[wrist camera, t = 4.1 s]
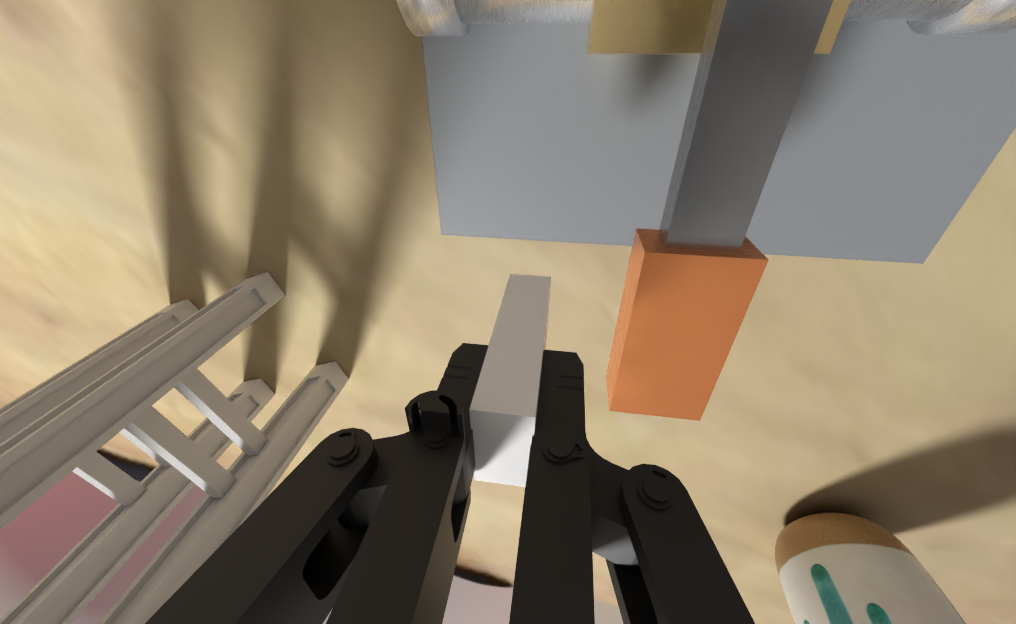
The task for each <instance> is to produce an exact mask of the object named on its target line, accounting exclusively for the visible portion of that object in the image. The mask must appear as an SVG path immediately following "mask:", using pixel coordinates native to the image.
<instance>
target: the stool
mask: <svg viewBox="0 0 1016 624" xmlns="http://www.w3.org/2000/svg"><path fill="white" fill-rule="evenodd" d="M284 296H285V294H284V293H283V292H282V290H281V289H280V288H279V286H278V285H277V284H276V282H275V281H274V280H273V278H272V277H271V276H270V274H269V273H268V272H265V273H262V274H259V275H256V276H253V277H250V278H247V279H245V280H244V281H242V282H241V283H239V284H238V285H236V286H235V287H233V288H232V289H230V290H229V291H227V292H226V293H224V294H223V295H221V296H220V297H218V298H217V299H215V300H214V301H212V302H211V303H209V304H208V305H206V306H205V307H203V308H202V309H200V310H198V309H197V308H196V307H195V306H194V305H193V304H192V302H191V301H190V300H189V299H186V300H183V301H180V302H177V303H174V304H171V305H169V306H167V307H166V308H164V309H162V310H161V311H159V312H157V313H156V314H154V315H152V316H151V317H149V318H147V319H146V320H144V321H143V322H141V323H139V324H138V325H136V326H134V327H133V328H131V329H129V330H128V331H126V332H125V333H123V334H121V335H120V336H118V337H116V338H115V339H113V340H111V341H110V342H108V343H106V344H105V345H103V346H102V347H100V348H98V349H97V350H95V351H93V352H92V353H90V354H88V355H87V356H85V357H84V358H82V359H80V360H79V361H77V362H75V363H74V364H72V365H70V366H69V367H67V368H65V369H64V370H62V371H61V372H59V373H57V374H56V375H54V376H52V377H51V378H49V379H47V380H46V381H44V382H43V383H41V384H39V385H38V386H36V387H34V388H33V389H31V390H29V391H28V392H26V393H24V394H23V395H21V396H20V397H18V398H16V399H15V400H13V401H11V402H10V403H8V404H6V405H5V406H3V407H2V408H0V530H1V529H2V528H3V527H4V526H5V525H7V524H8V523H9V522H11V521H12V520H13V519H14V518H15V517H16V516H18V515H19V514H20V513H21V512H23V511H24V510H25V509H26V508H27V507H29V506H30V505H31V504H32V503H34V502H35V501H36V500H37V499H38V498H40V497H41V496H42V495H43V494H45V493H46V492H47V491H48V490H49V489H51V488H52V487H53V486H54V485H56V484H57V483H58V482H59V481H60V480H62V479H63V478H64V477H65V476H66V475H68V474H69V473H70V472H71V471H73V472H74V473H76V474H77V475H79V476H80V477H82V478H83V479H85V480H86V481H88V482H89V483H91V484H92V485H94V486H95V487H97V488H98V489H100V490H101V491H102V492H104V493H105V494H107V495H108V496H110V497H111V498H113V499H114V500H116V501H117V502H119V504H118V505H117V506H116V507H115V508H114V509H113V510H112V511H111V512H110V513H109V514H108V515H107V516H106V517H105V518H104V519H103V520H102V521H101V522H100V523H99V524H97V526H95V527H94V528H93V530H91V531H90V532H89V533H88V534H87V535H86V536H85V537H84V538H83V539H82V540H81V541H80V542H79V543H78V544H77V545H76V546H75V547H74V548H73V549H72V550H71V551H70V552H69V553H68V554H67V555H66V556H65V557H64V558H63V559H62V560H61V561H60V562H59V563H58V564H57V565H56V566H55V567H54V568H53V569H52V570H51V571H49V572H48V573H47V575H45V576H44V577H43V578H42V579H41V580H40V581H39V582H38V583H37V584H36V585H35V586H34V587H33V588H32V589H31V590H30V591H29V592H28V593H27V594H26V595H25V596H24V597H23V598H22V599H21V600H20V601H19V602H18V603H17V604H16V605H15V606H14V607H13V608H12V609H11V610H10V611H9V612H8V613H7V614H6V615H5V616H3V618H1V619H0V624H71V623H72V622H73V621H74V620H75V619H76V617H78V615H79V614H80V613H81V612H82V611H83V610H84V609H85V608H86V607H87V605H88V604H89V603H90V602H91V601H92V600H93V599H94V598H95V596H96V595H97V594H98V593H99V592H100V591H101V589H103V587H104V586H105V585H106V584H107V583H108V582H109V581H110V579H111V578H112V577H113V576H114V575H115V574H116V572H118V571H119V569H120V568H121V567H122V566H123V565H124V564H125V563H126V562H127V560H128V559H129V558H130V557H131V556H132V555H133V554H134V552H135V551H136V550H137V549H138V548H139V547H140V546H141V545H142V544H143V542H144V541H145V540H146V539H147V538H148V537H149V536H150V535H151V533H152V532H153V531H154V530H155V529H156V528H157V527H158V526H159V524H160V523H161V522H162V521H163V520H164V519H165V518H166V516H167V515H168V514H169V513H170V512H171V511H172V510H173V509H174V507H175V506H176V505H177V504H178V503H179V502H180V501H181V500H182V498H183V497H184V496H185V495H186V494H187V493H188V492H189V491H190V489H191V488H192V487H193V486H194V485H195V484H196V485H197V486H199V487H200V488H201V489H202V490H204V491H205V492H206V493H208V494H207V495H206V496H205V497H204V498H203V500H202V501H201V502H200V503H199V504H198V506H197V507H196V508H195V509H194V510H193V512H192V513H191V514H190V515H189V516H188V518H187V519H186V520H185V521H184V522H183V523H182V525H181V526H180V527H179V528H178V529H177V531H176V532H175V533H174V534H173V535H172V537H171V538H170V539H169V540H168V541H167V543H166V544H165V545H164V546H163V547H162V548H161V550H160V551H159V552H158V553H157V554H156V556H155V557H154V558H153V559H152V560H151V562H150V563H149V564H148V565H147V566H146V567H145V569H144V570H143V571H142V572H141V573H140V575H139V576H138V577H137V578H136V579H135V581H134V582H133V583H132V584H131V585H130V587H129V588H128V589H127V590H126V591H125V592H124V594H123V595H122V596H121V597H120V598H119V600H118V601H117V602H116V603H115V604H114V606H113V607H112V608H111V609H110V611H109V612H108V613H107V614H106V615H105V616H104V618H103V619H102V620H101V621H100V622H99V623H98V624H145V623H146V622H147V621H148V620H149V619H150V618H151V617H152V616H153V615H154V614H155V613H156V612H157V610H158V609H159V608H160V607H161V606H162V605H163V604H164V603H165V602H166V601H167V600H168V599H169V598H170V597H171V596H172V595H173V594H174V593H175V592H176V591H177V590H178V589H179V588H180V587H181V586H182V585H183V584H184V583H185V582H186V581H187V580H188V579H189V577H190V576H191V575H192V574H193V573H194V572H195V571H196V570H197V569H198V568H199V567H200V566H201V565H202V564H203V563H204V562H205V561H206V560H207V559H208V558H209V557H210V556H211V555H212V554H213V553H214V552H215V551H216V550H217V549H218V548H219V547H220V545H221V544H222V543H223V542H224V541H225V540H226V539H227V538H228V537H229V536H230V535H231V534H232V533H233V532H234V531H235V530H236V529H237V528H238V527H239V526H240V525H241V524H242V523H243V522H244V521H245V520H246V519H247V518H248V517H249V516H250V515H251V514H252V512H253V511H254V510H255V509H256V508H257V507H258V506H259V505H260V504H261V503H262V502H263V501H264V500H265V498H266V497H267V496H268V494H269V493H270V491H271V490H272V488H273V487H274V486H275V484H276V483H277V481H278V480H279V478H280V477H281V476H282V474H283V473H284V471H285V470H286V468H287V467H288V466H289V464H290V463H291V461H292V460H293V458H294V457H295V456H296V454H297V453H298V451H299V450H300V448H301V447H302V446H303V444H304V443H305V441H306V440H307V438H308V437H309V436H310V434H311V433H312V431H313V430H314V428H315V427H316V426H317V424H318V423H319V421H320V420H321V418H322V417H323V416H324V414H325V413H326V411H327V410H328V408H329V407H330V406H331V404H332V403H333V401H334V400H335V398H336V397H337V396H338V394H339V393H340V391H341V390H342V388H343V387H344V386H345V384H346V383H347V381H348V380H349V378H348V377H347V376H346V374H345V373H344V372H343V370H342V369H341V368H340V366H339V365H338V364H337V363H336V361H334V362H330V363H325V364H320V365H316V366H314V368H313V369H312V370H311V371H310V372H309V374H308V375H307V376H306V377H305V378H304V380H303V381H302V382H301V383H300V384H299V385H298V387H297V388H296V389H295V390H294V391H293V393H292V394H291V395H290V396H289V397H288V399H287V400H286V401H285V402H284V403H283V405H282V406H281V407H280V408H279V409H278V410H277V412H276V413H275V414H274V415H273V416H272V418H271V419H270V420H269V421H268V422H267V424H266V425H265V426H264V427H263V428H262V429H261V431H259V430H258V429H257V428H256V427H255V426H254V425H253V424H252V423H251V421H252V420H253V419H254V417H255V416H256V415H257V414H258V413H259V412H260V411H261V410H262V408H263V407H264V406H265V405H266V404H267V403H268V402H269V401H270V399H271V398H272V397H273V396H274V395H275V393H274V392H273V391H272V390H271V389H270V388H269V387H268V386H267V385H266V384H265V382H264V381H263V380H262V379H261V378H259V379H254V380H249V381H245V382H243V383H242V384H240V385H239V386H238V387H237V388H236V389H235V390H234V391H233V392H232V393H231V394H230V395H229V396H228V397H227V398H226V397H225V396H224V395H223V394H222V393H221V392H220V391H219V390H218V389H217V388H216V387H215V386H214V385H213V384H212V383H211V382H210V381H209V380H208V379H207V378H206V377H205V376H204V375H203V374H202V373H201V372H200V371H199V370H198V369H197V368H198V367H199V366H200V365H201V364H203V363H204V362H205V361H206V360H208V359H209V358H210V357H211V356H212V355H214V354H215V353H216V352H217V351H218V350H220V349H221V348H222V347H223V346H225V345H226V344H227V343H228V342H229V341H231V340H232V339H233V338H234V337H236V336H237V335H238V334H239V333H240V332H242V331H243V330H244V329H245V328H246V327H248V326H249V325H250V324H251V323H253V322H254V321H255V320H256V319H257V318H259V317H260V316H261V315H262V314H263V313H265V312H266V311H267V310H268V309H270V308H271V307H272V306H273V305H274V304H276V303H277V302H278V301H279V300H281V299H282V298H283V297H284ZM173 387H174V388H176V389H177V390H178V391H179V392H180V393H181V394H182V395H183V396H184V397H185V398H186V399H187V400H189V401H190V402H191V403H192V404H193V405H194V406H195V407H196V408H197V409H198V410H199V411H200V412H202V413H203V414H204V415H205V416H206V417H207V418H206V419H205V420H204V421H203V422H202V423H201V424H200V425H199V426H198V427H197V428H196V429H195V430H194V431H192V432H191V433H190V434H189V435H188V436H186V435H185V434H184V433H182V432H181V431H180V430H179V429H178V428H177V427H175V426H174V425H173V424H172V423H171V422H170V421H169V420H167V419H166V418H165V417H164V416H163V415H162V414H160V413H159V412H158V411H157V410H156V409H155V408H153V407H152V405H153V404H154V403H155V402H156V401H158V400H159V399H160V398H161V397H163V396H164V395H165V394H166V393H167V392H169V391H170V390H171V389H172V388H173ZM119 432H120V433H121V434H122V435H123V436H125V437H126V438H127V439H129V440H130V441H131V442H132V443H134V444H135V445H136V446H137V447H139V448H140V449H141V450H143V451H144V452H145V453H146V454H148V455H149V456H150V457H152V458H153V459H154V460H155V461H157V462H158V463H159V465H158V466H157V467H156V468H155V469H154V470H153V471H152V472H151V473H150V474H149V475H148V476H147V477H145V478H144V479H143V480H142V481H141V482H140V483H138V482H137V481H136V480H134V479H133V478H132V477H130V476H129V475H127V474H126V473H125V472H123V471H122V470H120V469H119V468H118V467H116V466H115V465H114V464H112V463H111V462H109V461H108V460H107V459H105V458H104V457H103V456H101V455H100V454H98V453H97V452H96V451H97V450H98V449H99V448H101V447H102V446H103V445H104V444H105V443H107V442H108V441H109V440H110V439H111V438H113V437H114V436H115V435H116V434H118V433H119ZM232 442H234V443H235V444H236V445H237V446H238V447H239V448H240V449H242V450H243V452H242V453H241V454H240V456H239V457H238V458H237V459H236V460H235V462H234V463H233V464H232V465H231V466H230V468H229V469H228V470H225V469H224V468H223V467H222V466H221V465H220V464H218V463H217V462H216V460H217V459H218V458H219V457H220V456H221V455H222V453H223V452H224V451H225V450H226V449H227V448H228V447H229V446H230V444H231V443H232Z"/></svg>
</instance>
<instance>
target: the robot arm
mask: <svg viewBox="0 0 1016 624" xmlns="http://www.w3.org/2000/svg"><path fill="white" fill-rule="evenodd" d="M550 283H551V277H543V276H529V275H515V274H510V277H509V280H508V283H507V286H506V290H505V293H504V296H503V300H502V303H501V306H500V310H499V313H498V316H497V320H496V323H495V326H494V330H493V333H492V336H491V340H490V343H489V345H478V344H468V343H463V344H462V345H461V346H460V347H459V348H458V349H456V350H455V351H454V352H453V353H452V356H451V358H450V361H449V363H448V367H447V368H446V370H445V373H444V376H443V377H442V380H441V382H440V385H439V387H438V389H437V391H428V392H425V393H422V394H420V395H418V396H417V397H415V398H414V399H412V400H411V401H410V402H409V404H408V405H407V406H406V407H405V412H406V416H407V421H408V425H409V430H410V431H409V432H407V433H405V434H401V435H397V436H393V437H387V438H380V439H374V440H372V438H371V436H370V434H369V433H367V432H366V431H364V430H363V429H357V428H349V429H342V430H340V431H337V432H335V433H333V434H331V435H329V436H328V437H327V438H325V439H324V440H323V441H322V442H320V443H319V444H318V445H317V446H316V447H315V449H314V450H313V451H312V452H311V453H310V454H309V455H308V456H307V457H306V458H305V459H304V460H303V461H302V462H301V463H300V464H299V465H298V466H297V467H296V468H295V469H294V470H293V471H292V472H291V473H290V474H289V475H288V476H287V477H286V478H285V479H284V481H283V482H282V483H281V484H280V485H279V486H278V487H277V488H276V489H275V490H274V491H273V492H272V493H271V494H270V495H269V496H268V497H267V498H266V499H265V500H264V501H263V502H262V503H261V504H260V505H259V506H258V507H257V508H256V509H255V510H254V511H253V512H252V514H251V515H250V516H249V517H248V518H247V519H246V520H245V521H244V522H243V523H242V524H241V525H240V526H239V527H238V528H237V529H236V530H235V531H234V532H233V533H232V534H231V535H230V536H229V537H228V538H227V539H226V540H225V541H224V542H223V543H222V544H221V545H220V547H219V548H218V549H217V550H216V551H215V552H214V553H213V554H212V555H211V556H210V557H209V558H208V559H207V560H206V561H205V562H204V563H203V564H202V565H201V566H200V567H199V568H198V569H197V570H196V571H195V572H194V573H193V574H192V575H191V576H190V577H189V579H188V580H187V581H186V582H185V583H184V584H183V585H182V586H181V587H180V588H179V589H178V590H177V591H176V592H175V593H174V594H173V595H172V596H171V597H170V598H169V599H168V600H167V601H166V602H165V603H164V604H163V605H162V606H161V607H160V608H159V609H158V610H157V612H156V613H155V614H154V615H153V616H152V617H151V618H150V619H149V620H148V621H147V622H146V623H145V624H322V623H323V622H324V620H325V619H326V617H327V616H328V614H329V612H330V611H331V610H332V611H331V614H330V616H329V618H328V621H327V623H326V624H442V622H443V617H444V612H445V608H446V604H447V600H448V596H449V592H450V587H451V582H452V579H453V574H454V570H455V566H456V562H457V557H458V553H459V549H460V544H461V540H462V536H463V532H464V527H465V523H466V519H467V514H468V510H469V506H470V500H471V491H470V486H471V482H472V478H473V474H474V475H475V480H478V481H485V482H492V483H499V484H506V485H514V486H521V487H525V495H524V504H523V512H522V521H521V529H520V537H519V546H518V554H517V563H516V571H515V579H514V588H513V597H512V605H511V613H510V622H509V624H595V623H594V592H593V561H592V552H594V553H596V554H598V555H600V556H602V557H604V558H606V562H607V566H608V569H609V573H610V576H611V580H612V584H613V587H614V591H615V594H616V598H617V602H618V605H619V609H620V612H621V616H622V620H623V623H624V624H755V623H754V621H753V619H752V617H751V615H750V613H749V611H748V609H747V607H746V605H745V603H744V601H743V599H742V597H741V595H740V593H739V591H738V589H737V587H736V585H735V583H734V581H733V580H732V578H731V576H730V574H729V572H728V570H727V568H726V566H725V564H724V562H723V560H722V558H721V556H720V554H719V552H718V550H717V548H716V546H715V544H714V542H713V540H712V538H711V536H710V535H709V533H708V531H707V529H706V527H705V525H704V523H703V521H702V519H701V517H700V515H699V513H698V511H697V509H696V507H695V505H694V503H693V501H692V499H691V497H690V495H689V493H688V491H687V490H686V488H685V487H684V486H683V484H682V483H681V481H680V480H679V479H678V478H677V477H676V476H674V475H673V474H672V473H671V472H669V471H668V470H666V469H664V468H661V467H659V466H656V465H649V464H641V465H637V466H634V467H632V468H631V469H630V470H627V469H625V468H622V467H620V466H618V465H615V464H613V463H611V462H609V461H607V460H605V459H603V458H602V457H601V456H599V455H598V454H597V453H596V452H595V451H594V450H593V449H592V447H591V446H590V445H589V443H588V440H587V438H586V433H585V404H584V368H583V363H582V362H581V360H580V358H579V357H578V355H577V353H573V352H563V351H552V350H545V346H546V337H547V323H548V310H549V296H550ZM332 608H333V609H332Z"/></svg>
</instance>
